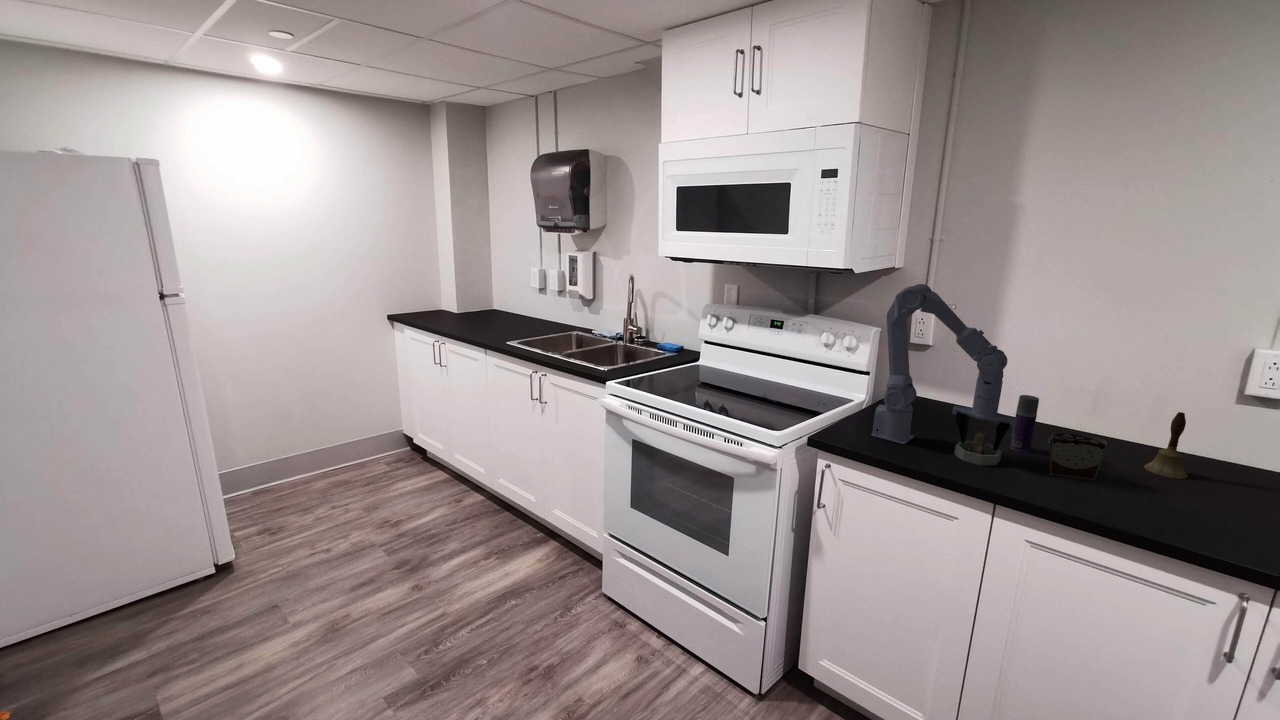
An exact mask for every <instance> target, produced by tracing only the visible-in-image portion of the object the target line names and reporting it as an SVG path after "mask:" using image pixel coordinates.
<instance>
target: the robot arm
mask: <svg viewBox="0 0 1280 720" xmlns="http://www.w3.org/2000/svg"><path fill="white" fill-rule="evenodd" d="M918 310H920V312H921V313H927V314H931V315H933V316H935V317H936V318H937V319H938V320H939V321H940V322H942V324H943V325H944V326H946V327H947V328H948V329H949V331H951V332H952V333H953V334H955V336H956V339H955V340H956V344H957V345H958V346H959V347H960V348H961V349H962V350H963V351H964V352H965V354H967V355H968V357H970V359H972V360H973V361H974V362H976V366H977V369H978V375H977V379H976V383H975V389H974V396H973V400H972V407H968V406H961V405H960V406H959V405H954V406H953V407H952V412H951V413H952V415H956V416H955V418H954V420H955V423H956V425H957V428H958V431H959V437H960V441H961V442H962V443H964V442H965V441H967V437H968V436H967V433H968V426H969V421H970V418H974V419H977V420H983V421H988V422H991V423H997V425H996V428H995V429H996V431H995V439H994V443H993V445H992V446H993V450H994V451H996V450H997V449H999V447H1000V444H1001V441H1002V440H1003V438H1004V437H1005V435H1006V433H1007V432H1008V431H1009V429H1010V428H1013V427H1015V426H1016V424H1017V418H1015V417H1012V416H1008V415H1007V414H1006V415H1005V414H1002V413H999V412H998V411H999V405H1000V400H1001V395H1002V389H1003V378H1004V372H1005V371H1004V369H1005V368H1006V367H1007V365H1008V356H1007V354H1005V352H1004V351H1003V350H1001V349H999V348H998V346H997V345H996V344H994V345H993V344H992V343H991V342H990V341H989V340H988V339H987V338H986V337H985V335H984V334H985V333H984V331H983V330H982V329H979V330H978V329H977V328H976V327H969V326H967V325H966V324H965V323H964V321H963V320H961V319H960V317H959V316H958V315H957V313H955V312H954V311H953V309H951V308H950V306H949V305H948V304H947V303H946V302H945V301H944V300H943V299H942V297H941V296H940V295H939V294H938V293H937V292H935V291H933V290H932V289H931V286H928V285H926V284H923V283H919V284H915V285H912V286H907V287H905V288H904V289H903V288H902V290H901V291H900V292H898V293H897V294H896V295H895V297H894V301H893V302H892V304H891V305H890V307H889V309H888V311H887V313H886V332H887V348H888V349H887V350H888V353H887V354H888V370H889V377H888V380H887V383H886V391H885V393H884V395H883V396H884V397H883V402H884V404H879V405H878V406H877V407H876V408H875V412H874V419H873V426H872V433H871V436H872V437H875V438H879V439H881V440H882V439H883V440H886V441H889V442H895V443H898V444H900V445H901V444H902V445H906V444H907V443H908V442H909V441H911V440H912V439H913V438H914V437H915V435H914V434H910V432H911V426H912V417H913V410H914V407H913V405H912V403H913V402H914V401H915V400H916V399H917V395H918V394H917V389H916V388H915V386H914V384H913V378H912V375H911V374H910V357H909V337H908V336H909V335H908V319H909V318H911V316H913V314H914V313H916V311H918Z"/></svg>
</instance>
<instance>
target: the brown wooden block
mask: <svg viewBox="0 0 1280 720" xmlns="http://www.w3.org/2000/svg"><path fill="white" fill-rule="evenodd" d="M987 439H988V432H986V431H984V430H983V431H982V430H978V431H977V432H976V433H975V434H974V438H973V441H974V443H973V449H972V453H976V454H980V455H983V453H984V450H985V444H987Z"/></svg>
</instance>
